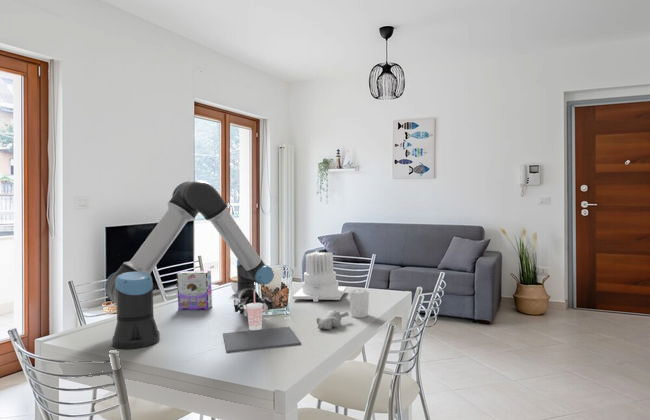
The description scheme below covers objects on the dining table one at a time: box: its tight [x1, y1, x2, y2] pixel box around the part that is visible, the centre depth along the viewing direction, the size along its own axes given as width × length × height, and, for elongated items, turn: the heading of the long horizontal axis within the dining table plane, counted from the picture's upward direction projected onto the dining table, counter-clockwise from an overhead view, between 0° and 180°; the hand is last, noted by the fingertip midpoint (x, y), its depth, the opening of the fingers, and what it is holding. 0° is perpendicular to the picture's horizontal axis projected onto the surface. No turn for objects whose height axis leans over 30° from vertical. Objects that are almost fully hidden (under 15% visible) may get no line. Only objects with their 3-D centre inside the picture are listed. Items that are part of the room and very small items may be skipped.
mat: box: [222, 326, 302, 354], centre depth 162 cm, size 20×24×1 cm
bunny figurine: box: [316, 310, 350, 331], centre depth 177 cm, size 10×5×15 cm
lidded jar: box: [230, 276, 238, 295], centre depth 238 cm, size 11×11×9 cm
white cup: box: [349, 288, 370, 319], centre depth 190 cm, size 8×8×10 cm
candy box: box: [176, 270, 213, 311], centre depth 209 cm, size 14×6×16 cm, turn 84°
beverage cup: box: [246, 291, 263, 331], centre depth 175 cm, size 6×6×14 cm
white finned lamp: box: [292, 251, 347, 303], centre depth 226 cm, size 25×22×21 cm
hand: (256, 311), depth 170 cm, fingers open, 7 cm apart
